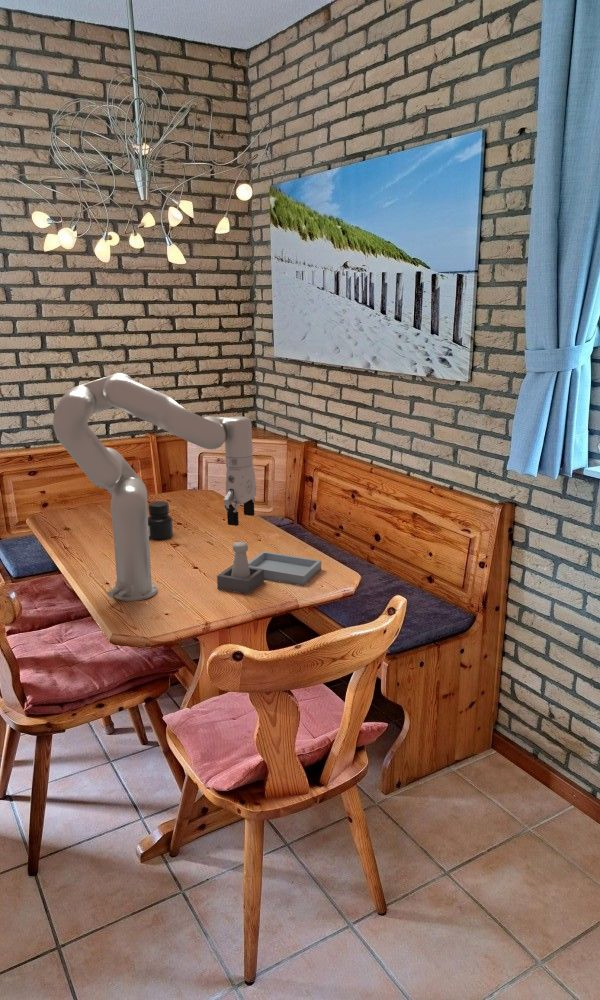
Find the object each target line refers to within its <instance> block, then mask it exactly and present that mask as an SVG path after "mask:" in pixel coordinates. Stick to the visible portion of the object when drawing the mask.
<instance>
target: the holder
mask: <svg viewBox="0 0 600 1000" xmlns="http://www.w3.org/2000/svg"><path fill="white" fill-rule="evenodd" d="M232 568H233V564H231V565H230V566H229V567H228V568H225V570H223V571H222V572H220V573H219V574H217V576H216V583H217V584H216V585H217V589H218V590H222V589H223V590H222V591H228V590H229V592H233V591H235V592H234V593H238V592H240V593H239V594H244V593H245V595H250V594H251V593H252V592H253V591H254V590H256V589H257V588H258V587H260V586H261V585H262V584H263V583H264V582H265V579H264V569H259V568H254V567H249V570H250V575H251V576H250V577H248V578H247V579H243V578H237V577H232V576H231V573H232Z"/></svg>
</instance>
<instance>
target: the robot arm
mask: <svg viewBox="0 0 600 1000" xmlns="http://www.w3.org/2000/svg"><path fill="white" fill-rule="evenodd" d="M113 408H114V409H117V410H119V411H120V412H121V411H122V412H123V413H126V414H129V415H130V416H133V417H136V418H138V419H141V420H143V421H144V422H147V423H150V424H151V425H154V426H155V427H156V426H157V427H158V428H159V429H162V430H164V431H166V432H168V433H170V434H172V435H174V436H176V437H178V438H180V439H181V440H184V441H186V442H188V443H190V444H193V445H196V446H198V447H200V448H203V449H206V450H216V449H219V448H220V447H222V446H223V444H224V452H225V468H226V475H225V497H224V498H223V504H224V509H225V511H226V514H227V515H226V516H227V517H226V518H227V525H228V526H235V527H238V526H239V523H240V522H239V511H238V508H239V505H243V515H244V516H251V517H254V516H255V500H256V499H255V497H256V495H257V484H256V474H255V469H254V465H253V464H254V463H253V462H254V461H253V459H254V458H253V432H252V431H253V430H252V427H253V426H252V420H251V419H250V418H249V417H247V416H238V415H237V416H229V417H222V416H212V415H209V416H208V415H207V416H204V417H203V416H202V415H199V414H197V413H194V411H190V410H188V409H187V408H185V407H183V406H182V405H181V404H179V403H178V402H177V401H176V400H175V399H173V397H170V396H169V395H167V394H165V393H162V392H160V391H158V390H155V389H153V388H150V387H149V386H146V385H145V384H141V383H140V382H137V381H136V380H134V379H133V378H132V377H131V376H130V375H128V374H126V373H123V372H117V373H113V374H110V375H107V376H104V377H101V378H99V379H95V380H92V381H89V382H85V383H83V384H80V385H77V386H76V385H75V386H74V387H72V388H70V389H69V390H68V391H66V393H64V394H63V395H62V397H61V398H60V400H59V401H58V403H57V405H56V407H55V410H54V413H53V418H52V420H53V421H52V425H53V426H52V427H53V430H54V433H55V436H56V438H57V440H58V441H59V443H60V445H61V446H62V447H63V448H64V449H65V450H66V452H67V453H68V454H69V456H71V459H72V460H73V462H75V464H76V465H77V466H78V467H79V468H80V469H81V471H82V472H83V473H84V474H85V476H86V477H87V479H89V481H90V483H92V485H94V486H96V487H97V488H100V489H105V490H106V491H107V492H108V493H109V495H110V496H111V499H110V513H111V521H112V530H113V531H112V532H113V533H112V534H113V546H114V558H115V559H114V561H115V572H116V573H115V574H116V575H115V576H116V581H115V582H114V583H115V585H114V587H113V588H112V589H110V590H109V591H107V596H108V598H109V599H111V598H114V599H116V600H120V601H125V602H126V601H127V602H135V601H136V602H137V601H142V600H143V601H144V600H146V599H149V598H151V597H153V596H155V595H156V594H157V592H158V586H157V584H156V583H154V582H153V581H152V569H151V568H152V567H151V566H152V565H151V552H150V551H151V549H150V548H151V547H150V539H149V530H148V517H149V515H148V514H149V505H148V489H147V487H146V484H145V483H144V481H143V480H142V479H141V478H140V476H139V475H138V473H136V471H135V470H134V469H133V468H132V466H131V465H130V464H129V462H128V461H127V460H126V459H125V458H124V456H123V455H122V453H120V452H119V451H117V450H116V449H114V448H113V447H108V446H105V445H104V443H102V442H101V440H100V439H99V437H98V436H97V434H96V433H94V432H93V430H91V428H90V427H89V423H88V421H89V419H90V418H91V417H92V415H94V414H97V413H100V412H103V411H106V410H109V409H113Z"/></svg>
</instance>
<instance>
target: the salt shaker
mask: <svg viewBox="0 0 600 1000" xmlns="http://www.w3.org/2000/svg"><path fill="white" fill-rule="evenodd" d="M248 549H249V546H248V544H247V542H244V541H237V542H234V543H233V544H232V550H233V552H234V557H233V564H232V565H233V568H232V573H231V576H232V577H237V578H243V579H247V578H248V577H250V576H251V575H250V570H249V565H248V562H249V561H248V555H247V552H248Z"/></svg>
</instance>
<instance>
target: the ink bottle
mask: <svg viewBox="0 0 600 1000" xmlns="http://www.w3.org/2000/svg"><path fill="white" fill-rule="evenodd" d="M148 514H149V515H148V530H149V540H152V541H153V540H155V541H165V540H168V539H170V538H172V537H173V535H174V530H173V525H174V524H173V518H172V516H171V515H170V507H169V502H167V501H163V500H155V501H151V502H149V503H148Z"/></svg>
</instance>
